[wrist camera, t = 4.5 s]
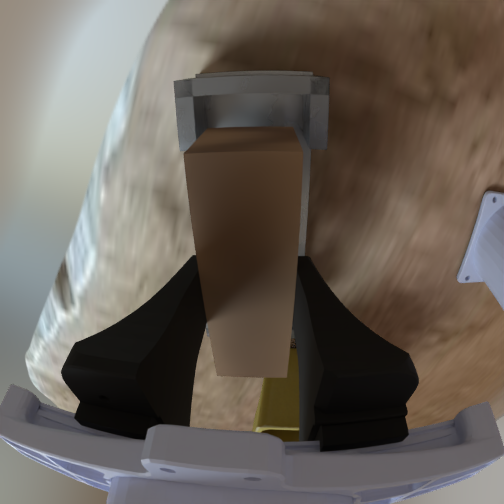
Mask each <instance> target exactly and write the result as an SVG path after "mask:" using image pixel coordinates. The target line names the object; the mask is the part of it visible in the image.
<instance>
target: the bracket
mask: <svg viewBox="0 0 504 504" xmlns="http://www.w3.org/2000/svg"><path fill="white" fill-rule="evenodd" d="M174 91H175V104H176V116H177V127H178V137H179V147H180V151H187V150H188V148H189V147H190V146H191V145H192V144H193V143H194V142H195V141H196V140H197V139H198V138H199V137H200V136H201V135H202V134H203V133H204V131H205V130H206V129H207V128H221V127H261V126H274V127H293V128H294V130H295V133H296V135H297V138H298V140H299V142H300V145H301V147H302V150H303V174H302V196H301V215H300V232H299V248H298V256H305V243H306V230H307V216H308V201H309V183H310V164H311V149H322V150H327V137H328V114H329V78H328V77H322V76H313V72H304V71H234V72H216V73H204V74H196V78H189V79H183V80H177V81H174ZM206 331H207V336H209V337H210V335H209V330H208V324H206ZM291 338H295V335H294V329H293V323H292V333H291Z"/></svg>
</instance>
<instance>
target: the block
mask: <svg viewBox="0 0 504 504" xmlns="http://www.w3.org/2000/svg"><path fill="white" fill-rule="evenodd" d="M184 163H185V172H186V181H187V190H188V198H189V206H190V214H191V221H192V229H193V236H194V243H195V250H196V257H197V264H198V270H199V277H200V283H201V289H202V295H203V301H204V307H205V313H206V319H207V324H208V330H209V335H210V341H211V346H212V351H213V357H214V362H215V367H216V372H217V376H231V377H263V378H287V371H288V362H289V353H290V343H291V333H292V323H293V312H294V300H295V288H296V276H297V262H298V248H299V232H300V215H301V196H302V174H303V150H302V147H301V145H300V142H299V140H298V138H297V135H296V133H295V130H294V128H293V127H274V126H261V127H221V128H207V129H206V130H205V131H204V133H203V134H202V135H201V136H200V137H199V138H198V139H197V140H196V141H195V142H194V143H193V144H192V145H191V146H190V147H189V148H188V150H187V151H186V152H185V153H184Z"/></svg>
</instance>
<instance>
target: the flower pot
mask: <svg viewBox="0 0 504 504" xmlns="http://www.w3.org/2000/svg"><path fill="white" fill-rule="evenodd" d="M252 432H260V433H268V434H270V435H273V436H276V437H279V438H280V439H281V440H282V441H283V442H299V366H298V356H297V349H296V348H290V353H289V362H288V371H287V378H264V380H263V385H262V391H261V395H260V399H259V403H258V407H257V411H256V414H255V419H254V424H253V429H252Z"/></svg>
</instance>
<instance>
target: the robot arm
mask: <svg viewBox="0 0 504 504" xmlns="http://www.w3.org/2000/svg"><path fill="white" fill-rule="evenodd" d="M494 197H495V198H494ZM493 198H494V199H493ZM457 280H458V282H459V283H468V282H485V283H486V284H487V286H488V287H489V289H490V290H491V292H492V293H493V295H494V296H495V298H496V299H497V301H498V302H499V304H500V305H501V307H502V308H503V310H504V193H502V192H496V191H487V192H485V194H484V196H483V200H482V203H481V207H480V210H479V214H478V217H477V220H476V224H475V227H474V230H473V233H472V236H471V239H470V242H469V245H468V248H467V251H466V254H465V256H464V259H463V262H462V264H461V267H460V270H459V272H458V275H457ZM206 324H207V319H206V313H205V307H204V301H203V295H202V289H201V283H200V277H199V270H198V264H197V257H196V255H193V256H192V257H191V258H190V259H189V260H188V261H187V262H186V263H185V264H184V265H183V267H182V268H181V269H180V270H179V271H178V272H177V273H176V274H175V275H174V276H173V277H172V278H171V279H170V281H169V282H168V283H167V284H166V285H165V286H164V287H163V288H162V289H161V290H159V291H158V292H157V293H156V294H155V295H154V296H153V297H152V298H151V299H150V300H148V301H147V302H146V303H145V304H143V305H142V306H141V307H140V308H138V309H137V310H136V311H134V312H133V313H131V314H130V315H128V316H127V317H125V318H124V319H122V320H121V321H119V322H117V323H116V324H114V325H112V326H110V327H109V328H107V329H105V330H103V331H101V332H99V333H97V334H95V335H93V336H90V337H88V338H86V339H83V340H81V341H79V342H76V343H75V344H74V346H73V348H72V349H71V351H70V353H69V355H68V357H67V359H66V361H65V363H64V365H63V368H62V370H61V374H62V378H63V380H64V381H65V383H66V384H67V386H68V387H69V388H70V389H71V391H72V392H73V393H74V394H75V396H76V397H77V398H78V399H79V400H80V403H79V406H78V408H77V411H76V414H75V413H72V412H69V411H65V410H62V409H59V408H56V407H53V406H50V405H47V404H44V403H41V402H40V401H39V399H38V398H37V397H36V395H34V394H33V393H32V392H30V391H29V390H27V389H24V388H21V387H18V386H16V385H14V384H11V385H10V387H9V389H8V391H7V393H6V395H5V397H4V399H3V401H2V403H1V405H0V438H1V439H3V440H4V441H5V442H6V443H8V444H9V445H10V446H12V447H13V448H14V449H16V450H17V451H18V452H20V453H21V454H23V455H24V456H26V457H28V458H30V459H32V460H34V461H36V462H38V463H40V464H42V465H44V466H47V467H49V468H51V469H53V470H55V471H57V472H59V473H62V474H64V475H66V476H69V477H71V478H73V479H76V480H78V481H80V482H83V483H85V484H88V485H91V486H93V487H96V488H99V489H101V490H104V491H107V492H109V493H108V498H107V502H106V504H391V503H395V502H398V501H402V500H406V499H409V498H412V497H416V496H419V495H422V494H425V493H428V492H431V491H434V490H437V489H440V488H443V487H446V486H449V485H451V484H454V483H457V482H460V481H462V480H465V479H468V478H470V477H472V476H474V475H475V474H477V473H478V472H480V471H482V470H483V469H484V468H486V467H488V466H489V465H491V464H492V463H494V462H495V461H497V460H498V459H500V458H501V457H502V456H504V446H503V443H502V439H501V436H500V433H499V430H498V427H497V424H496V421H495V418H494V415H493V412H492V409H491V407H490V404H489V402H484V403H480V404H477V405H474V406H470V407H468V408H465V409H463V410H462V411H461V412H459V413H458V414H457V415H456V417H455V418H454V419H453V420H449V421H445V422H441V423H437V424H433V425H428V426H424V427H419V428H414V429H409V430H408V427H407V423H406V419H405V416H406V415H407V413H408V411H407V407H406V403H407V401H408V400H409V398H410V397H411V396H412V394H413V393H414V391H415V390H416V388H417V386H418V384H419V378H418V375H417V372H416V369H415V366H414V364H413V362H412V360H411V358H410V355H409V353H407V352H405V351H403V350H401V349H400V348H398V347H396V346H394V345H393V344H391V343H389V342H388V341H386V340H385V339H383V338H382V337H380V336H379V335H377V334H376V333H374V332H373V331H372V330H370V329H369V328H368V327H367V326H365V325H364V324H363V323H362V322H361V321H359V320H358V319H357V318H356V317H355V316H354V315H353V314H352V313H351V312H350V311H349V310H348V309H347V308H346V307H345V306H344V305H343V304H342V303H341V302H340V300H339V299H338V298H337V297H336V296H335V294H334V293H333V292H332V291H331V289H330V288H329V287H328V285H327V284H326V282H325V281H324V280H323V278H322V277H321V275H320V274H319V272H318V271H317V269H316V268H315V266H314V264H313V262H312V261H311V259H310V258H309V257H308V256H298V262H297V276H296V288H295V300H294V312H293V329H294V335H295V342H296V349H297V356H298V366H299V442H283V441H282V440H281V439H280V438H279V437H276V436H273V435H270V434H268V433H260V432H252V431H232V430H217V429H206V428H195V427H190V414H191V403H192V394H193V385H194V377H195V370H196V363H197V358H198V354H199V350H200V346H201V343H202V339H203V335H204V331H205V328H206Z"/></svg>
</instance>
